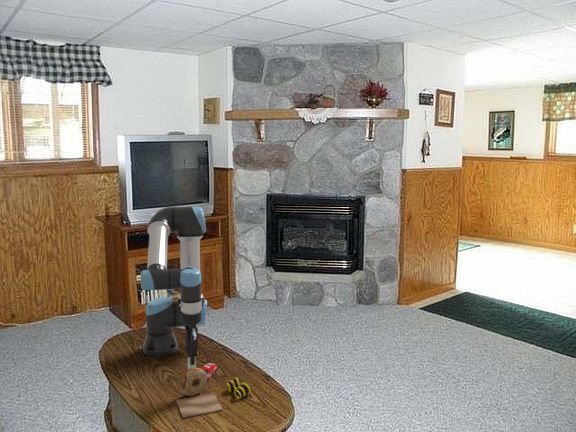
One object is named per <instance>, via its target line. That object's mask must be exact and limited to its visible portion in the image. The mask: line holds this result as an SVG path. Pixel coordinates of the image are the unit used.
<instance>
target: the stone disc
mask: <svg viewBox="0 0 576 432" xmlns="http://www.w3.org/2000/svg"><path fill="white" fill-rule="evenodd" d="M195 379H196V380H195ZM207 383H208V382H207V376H206V373H205V372H204V371H203V370H202V367H201V368H200V367H196V368H192V369H190V370H188V369H187V371H185V372H184V373H183V374H182V376H181V378H180V383H179V389H180V392H182V393H183V394H184V395H186V396H187V397H188V396H189V397H194V396H197V395H198V394H200V393H201V392H203V391H204V390H205V388H206V387H207Z"/></svg>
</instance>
